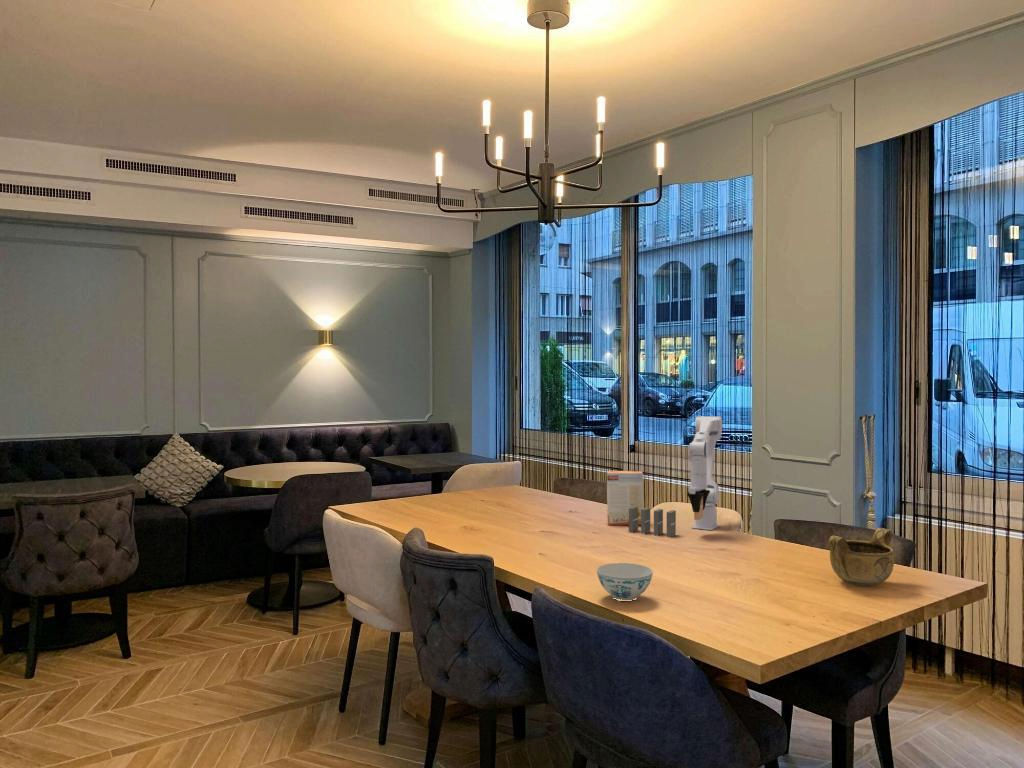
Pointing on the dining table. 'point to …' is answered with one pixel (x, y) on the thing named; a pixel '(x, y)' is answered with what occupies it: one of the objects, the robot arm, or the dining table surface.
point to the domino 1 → (645, 520)
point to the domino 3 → (671, 523)
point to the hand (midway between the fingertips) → (698, 510)
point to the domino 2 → (658, 521)
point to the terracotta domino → (699, 514)
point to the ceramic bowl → (863, 559)
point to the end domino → (633, 519)
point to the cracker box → (623, 495)
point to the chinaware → (624, 579)
